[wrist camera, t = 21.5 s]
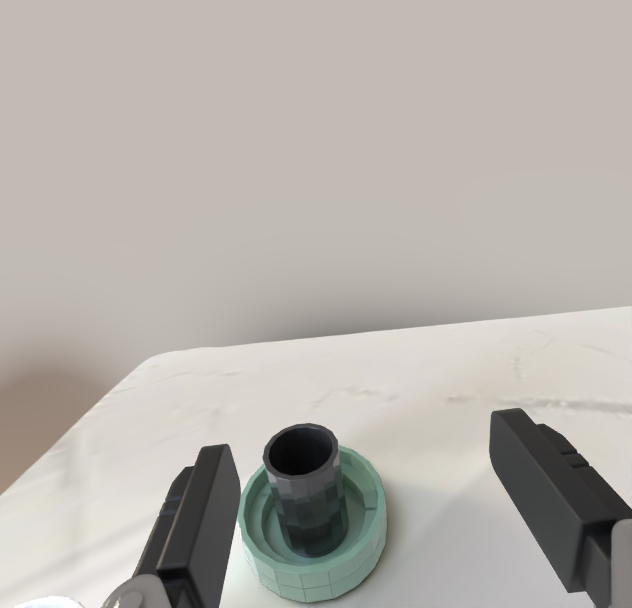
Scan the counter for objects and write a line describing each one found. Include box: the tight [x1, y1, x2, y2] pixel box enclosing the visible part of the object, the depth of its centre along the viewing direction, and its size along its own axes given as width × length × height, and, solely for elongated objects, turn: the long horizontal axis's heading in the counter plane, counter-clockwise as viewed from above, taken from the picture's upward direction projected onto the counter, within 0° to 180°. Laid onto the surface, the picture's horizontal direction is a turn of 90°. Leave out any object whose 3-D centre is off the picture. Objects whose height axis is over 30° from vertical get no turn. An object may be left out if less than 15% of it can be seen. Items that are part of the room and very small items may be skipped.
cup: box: [263, 423, 349, 558], centre depth 32 cm, size 6×6×9 cm
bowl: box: [237, 445, 387, 603], centre depth 33 cm, size 13×13×4 cm
